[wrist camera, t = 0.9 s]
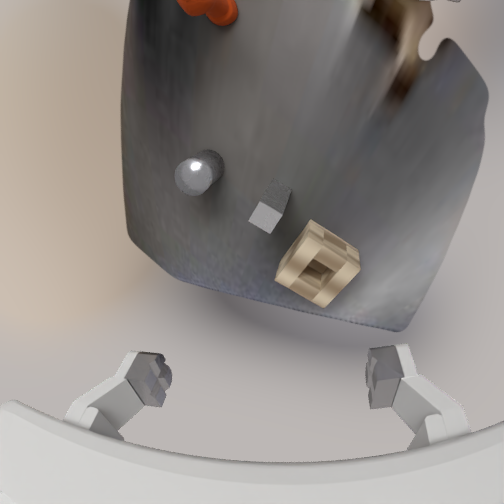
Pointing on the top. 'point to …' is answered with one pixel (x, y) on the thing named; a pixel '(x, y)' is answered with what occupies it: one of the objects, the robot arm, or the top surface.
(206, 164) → the round bit
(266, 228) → the square bit
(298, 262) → the socket block
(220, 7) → the toy drill
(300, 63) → the top surface
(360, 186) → the top surface
